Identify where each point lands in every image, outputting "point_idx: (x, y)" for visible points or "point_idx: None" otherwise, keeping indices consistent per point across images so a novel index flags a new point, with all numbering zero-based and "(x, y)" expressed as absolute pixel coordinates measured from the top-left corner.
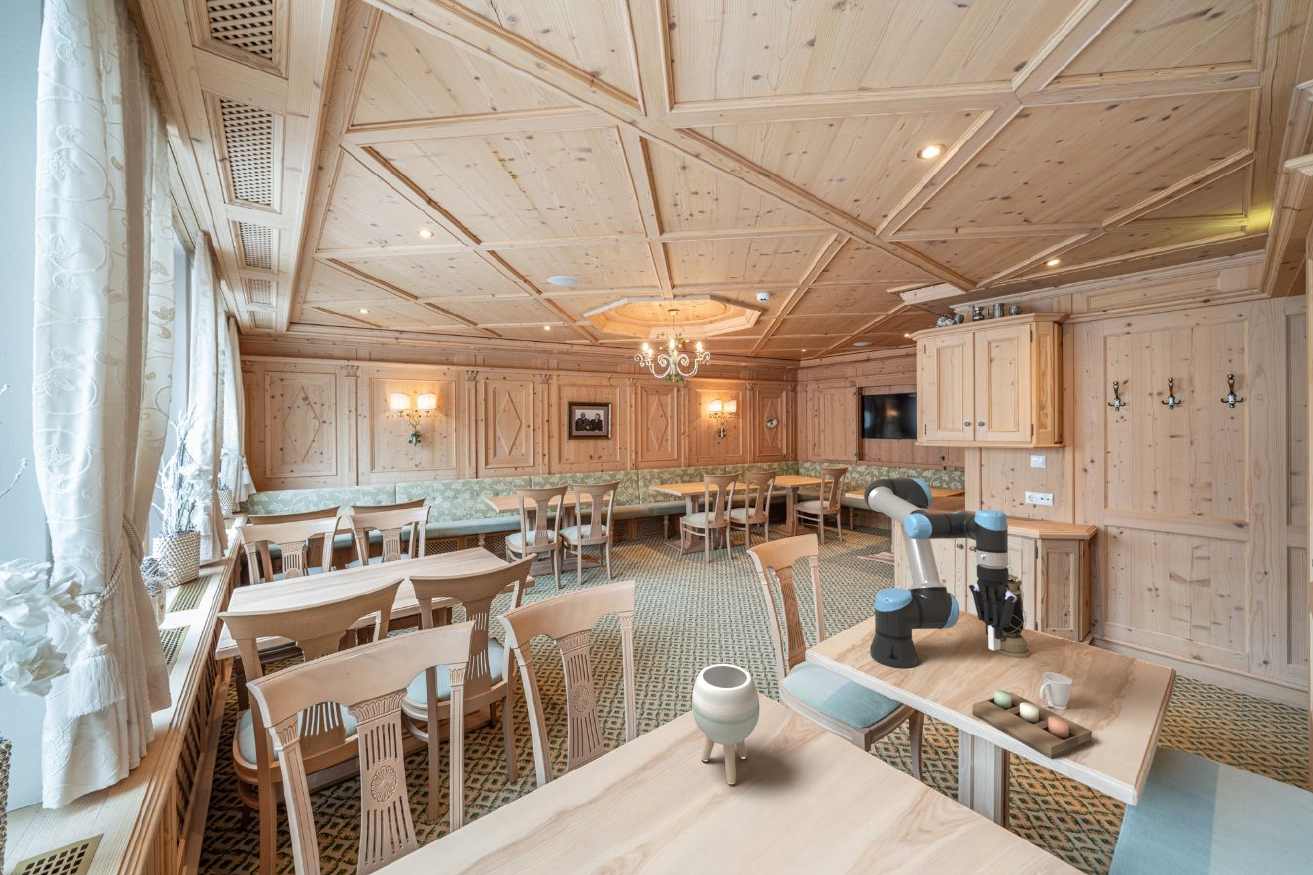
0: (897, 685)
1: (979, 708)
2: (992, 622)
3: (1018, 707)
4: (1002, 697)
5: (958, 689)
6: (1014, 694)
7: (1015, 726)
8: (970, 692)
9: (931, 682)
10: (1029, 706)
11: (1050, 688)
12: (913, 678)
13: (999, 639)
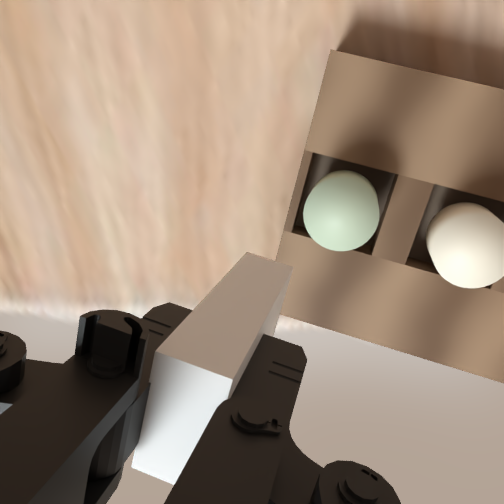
0: (17, 291)
1: (292, 316)
2: (132, 412)
3: (404, 184)
4: (351, 248)
5: (148, 133)
6: (351, 62)
7: (439, 355)
8: (188, 116)
9: (61, 166)
10: (473, 246)
11: None
12: (9, 192)
13: (273, 310)
